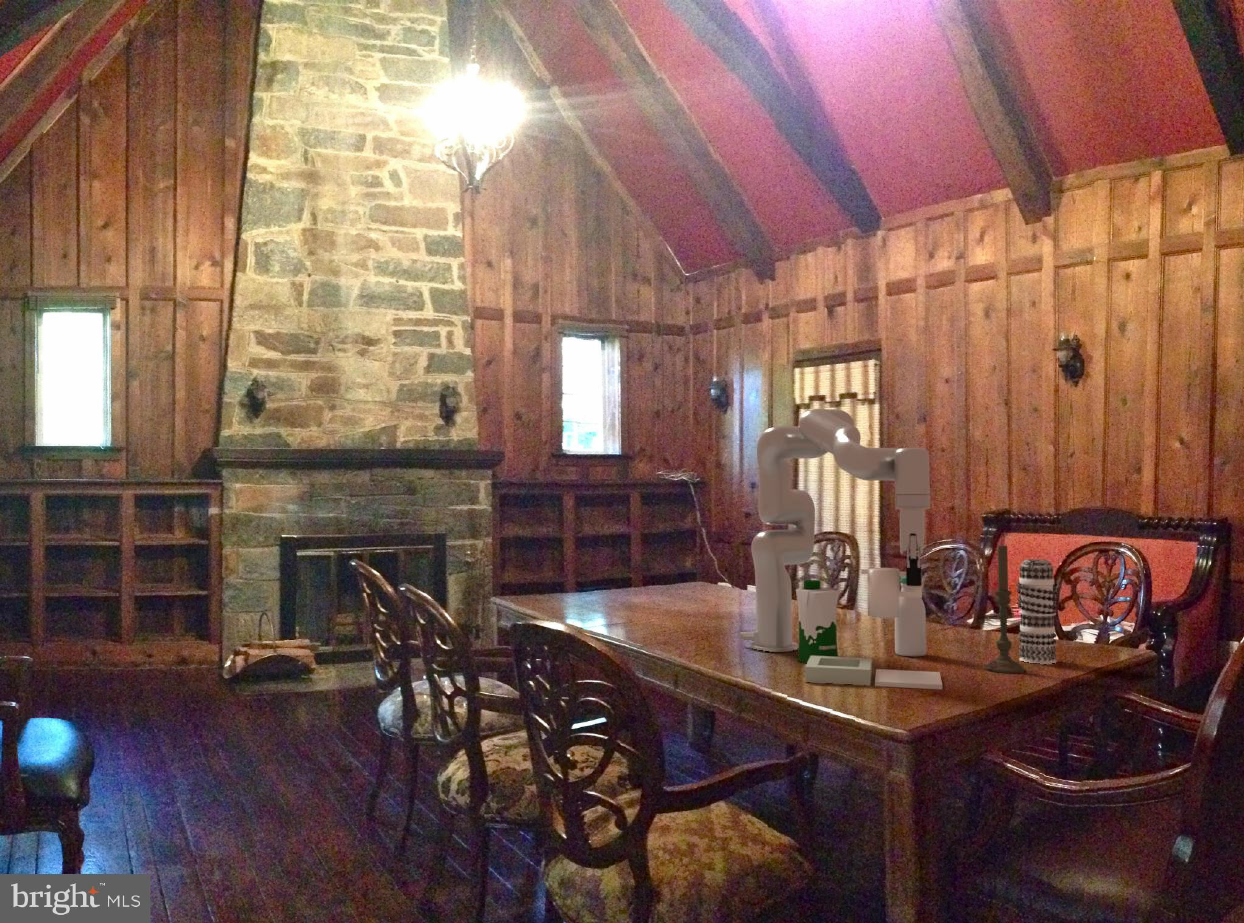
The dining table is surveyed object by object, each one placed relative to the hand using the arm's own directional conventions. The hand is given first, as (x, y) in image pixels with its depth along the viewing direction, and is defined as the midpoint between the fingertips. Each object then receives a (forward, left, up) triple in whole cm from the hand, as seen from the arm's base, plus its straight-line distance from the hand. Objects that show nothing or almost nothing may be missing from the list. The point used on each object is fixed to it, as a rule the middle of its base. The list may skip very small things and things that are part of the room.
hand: (913, 584), depth 213 cm
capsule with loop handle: (-5, 0, -7) cm, 9 cm away
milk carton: (-23, +17, -22) cm, 36 cm away
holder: (-17, 0, -22) cm, 27 cm away
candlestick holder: (+20, +19, -22) cm, 36 cm away
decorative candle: (+29, +32, -22) cm, 49 cm away
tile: (-2, 0, -22) cm, 22 cm away
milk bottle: (-1, +34, -22) cm, 40 cm away
